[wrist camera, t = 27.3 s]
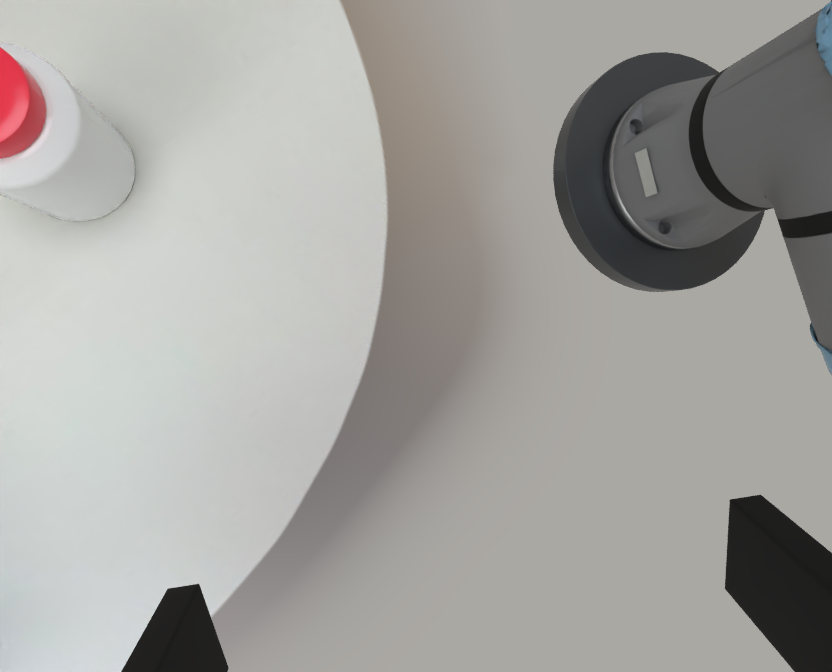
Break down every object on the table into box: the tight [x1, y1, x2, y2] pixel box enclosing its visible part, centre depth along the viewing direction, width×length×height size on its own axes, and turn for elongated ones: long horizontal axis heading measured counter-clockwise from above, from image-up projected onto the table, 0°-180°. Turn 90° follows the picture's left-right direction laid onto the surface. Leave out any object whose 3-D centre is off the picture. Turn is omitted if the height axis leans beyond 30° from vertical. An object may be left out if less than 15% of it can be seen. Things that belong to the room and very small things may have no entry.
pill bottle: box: [0, 42, 135, 221], centre depth 28 cm, size 8×8×11 cm
